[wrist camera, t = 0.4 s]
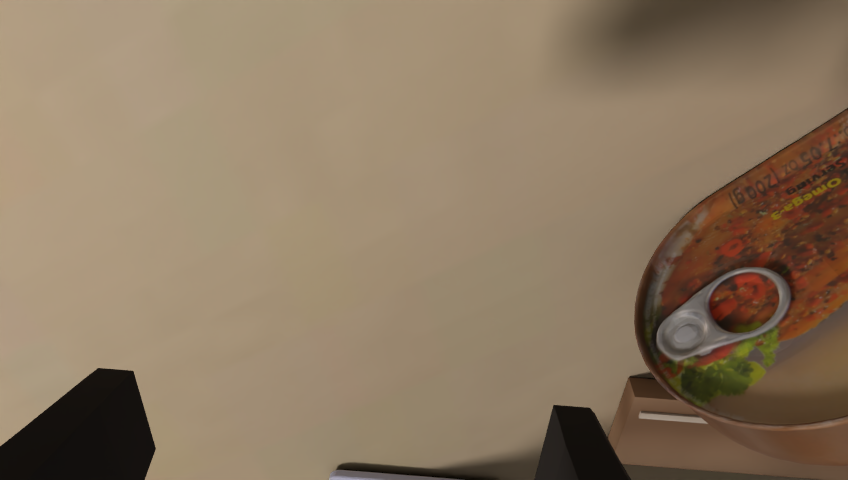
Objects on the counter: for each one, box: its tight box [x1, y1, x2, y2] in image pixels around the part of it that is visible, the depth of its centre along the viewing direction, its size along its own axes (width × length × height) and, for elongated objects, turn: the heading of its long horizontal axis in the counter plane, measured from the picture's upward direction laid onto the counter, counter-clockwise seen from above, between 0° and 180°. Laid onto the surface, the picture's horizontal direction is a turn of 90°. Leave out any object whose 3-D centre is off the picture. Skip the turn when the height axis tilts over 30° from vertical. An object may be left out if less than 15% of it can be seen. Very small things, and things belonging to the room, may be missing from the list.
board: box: [608, 377, 848, 480], centre depth 24 cm, size 4×14×1 cm, turn 87°
